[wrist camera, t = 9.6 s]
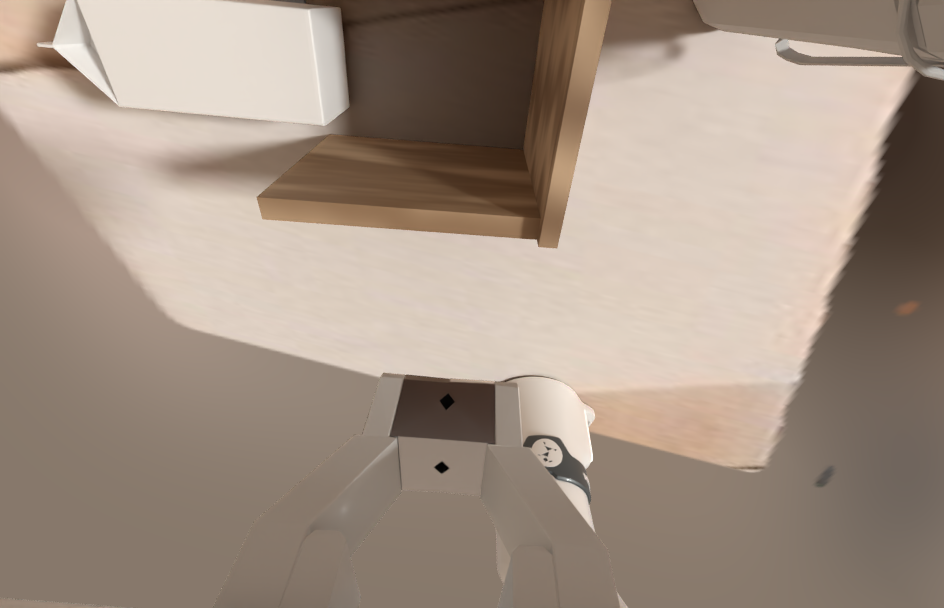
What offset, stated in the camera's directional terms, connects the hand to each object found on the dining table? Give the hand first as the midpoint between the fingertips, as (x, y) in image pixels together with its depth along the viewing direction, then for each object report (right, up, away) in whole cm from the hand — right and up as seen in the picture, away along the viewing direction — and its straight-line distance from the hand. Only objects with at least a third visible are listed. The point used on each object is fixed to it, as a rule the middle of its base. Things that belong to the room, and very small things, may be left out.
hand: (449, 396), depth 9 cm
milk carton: (-10, +20, +22) cm, 31 cm away
